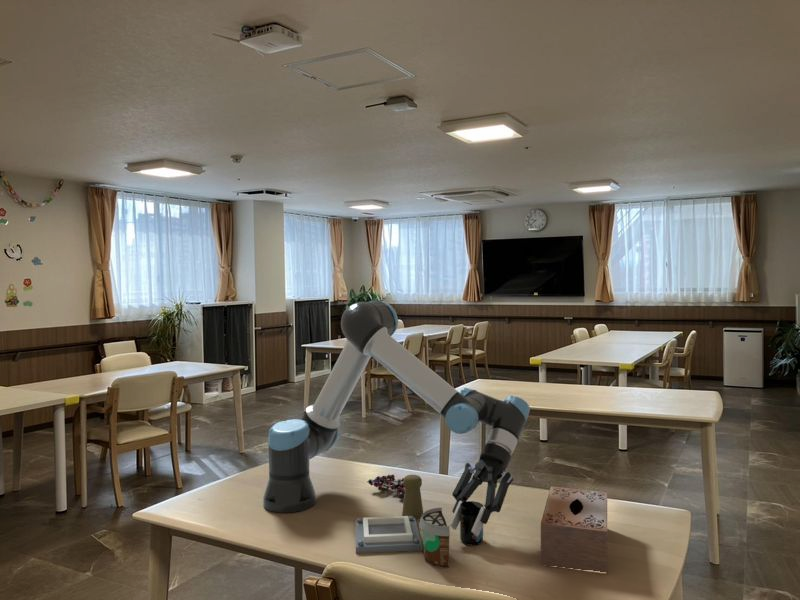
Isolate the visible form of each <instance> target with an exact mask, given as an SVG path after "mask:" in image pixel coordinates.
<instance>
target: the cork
mask: <svg viewBox="0 0 800 600" xmlns="http://www.w3.org/2000/svg"><path fill="white" fill-rule="evenodd" d="M403 478H404V480H403V484H404V487H405V495H403V504H402V505H403V506H402V511H401V516H408V517H409V516H413V517H414V518H415V520H419V519H421V517H422V514H423V513H424V507H423V500H422V494H421V487H422V484H423V483H422V482H423V480H422V478H421V476H420V475H417V474H407V475H405V476H404V477H403Z"/></svg>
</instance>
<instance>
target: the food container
mask: <svg viewBox="0 0 800 600" xmlns="http://www.w3.org/2000/svg"><path fill="white" fill-rule="evenodd" d="M419 519H420V521H419V528H420V529H421V531H422V539H423V552H424V553H423V554H424V555H423V556H424V560H425V562H426V563H427V564H428V565H430V566H433V567H436V568H437V567H438V568H442V569H446V568H447V569H449V568H450V537H451V532H450V525H447V522H446V518H445V517H444V514H443V507H434V508H430V509H428V510H426V511H423V514H422V517H421V518H419Z"/></svg>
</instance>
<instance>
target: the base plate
mask: <svg viewBox="0 0 800 600" xmlns="http://www.w3.org/2000/svg"><path fill="white" fill-rule="evenodd" d="M416 520H417V519H415V518H414V517H413V516H409V517H408V516H402V515H400V516H399V515H396V516H395V515H394V516H369V517H358V518H357V519H356V520H355V521H354V522H355V523H354V524H355V525H354V527H355V534H354V535H355V553H356V554H368V553H369V554H370V553H371V554H372V553H390V552H391V553H392V552H393V553H394V552H411V551H412V552H415V551H423V544H422V540H421V536H420V532H419V528H418V525H417V524H418V523H417V521H416Z"/></svg>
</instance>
